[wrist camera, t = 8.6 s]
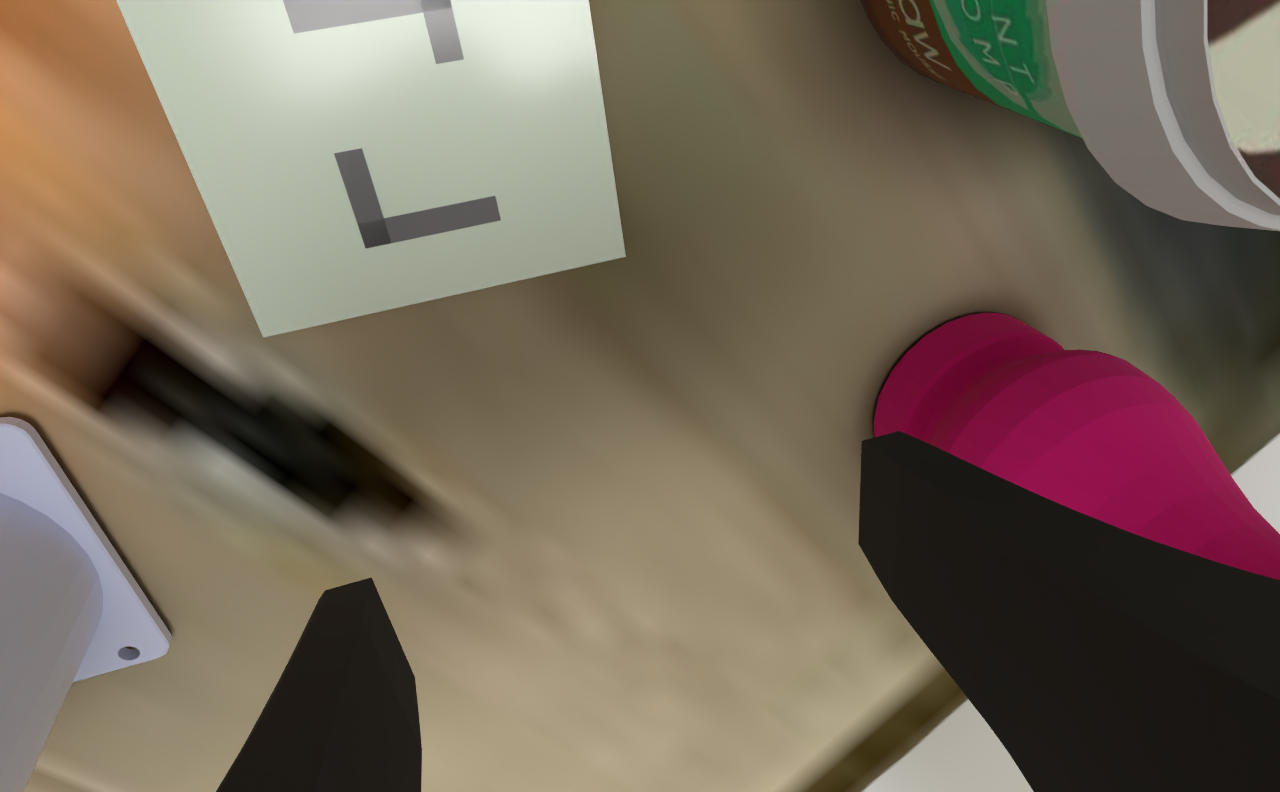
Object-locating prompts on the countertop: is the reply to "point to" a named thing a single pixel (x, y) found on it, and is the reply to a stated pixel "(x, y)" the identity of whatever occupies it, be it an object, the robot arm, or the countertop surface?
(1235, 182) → the food container
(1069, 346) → the countertop surface
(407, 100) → the tile
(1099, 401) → the pepper mill
